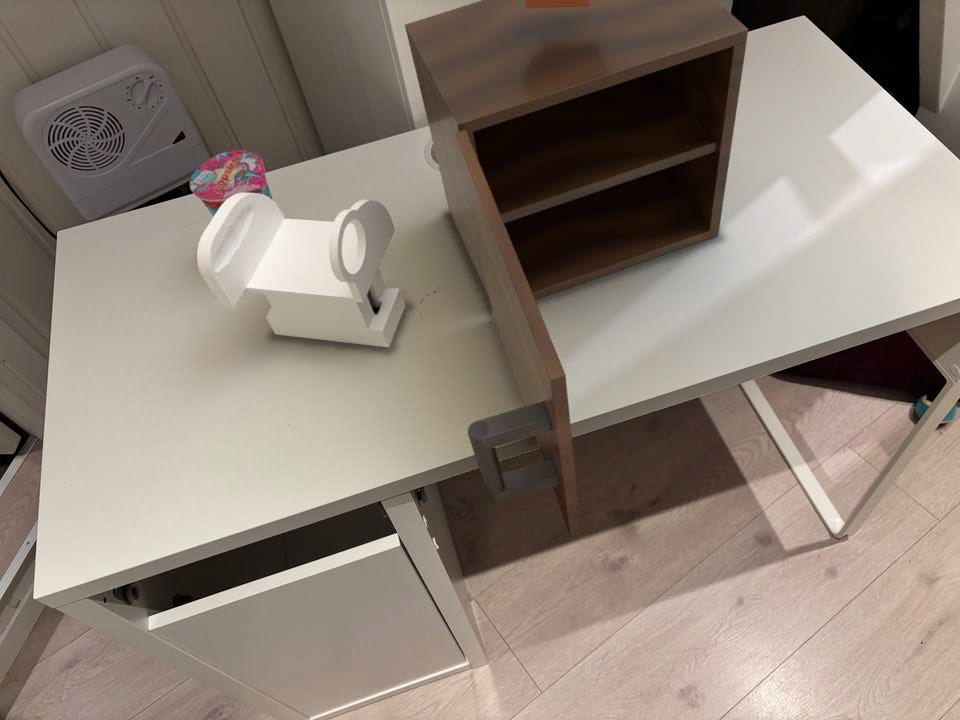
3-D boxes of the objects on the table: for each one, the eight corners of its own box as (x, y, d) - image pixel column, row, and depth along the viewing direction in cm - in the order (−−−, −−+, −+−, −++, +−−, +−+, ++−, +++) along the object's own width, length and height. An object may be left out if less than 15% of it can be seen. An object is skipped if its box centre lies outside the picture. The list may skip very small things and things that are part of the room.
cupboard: (718, 235, 83) (748, 28, 63) (495, 313, 81) (457, 124, 61) (647, 145, 94) (654, -55, 74) (449, 211, 92) (404, 24, 72)
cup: (226, 277, 91) (180, 202, 81) (242, 229, 96) (200, 153, 86) (299, 271, 89) (261, 194, 80) (311, 222, 94) (276, 145, 85)
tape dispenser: (413, 287, 85) (372, 161, 71) (378, 379, 78) (324, 259, 64) (303, 277, 89) (242, 155, 74) (259, 364, 81) (183, 247, 67)
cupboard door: (506, 558, 64) (458, 406, 45) (441, 333, 80) (386, 151, 61) (581, 535, 64) (565, 375, 45) (502, 316, 80) (465, 129, 61)
